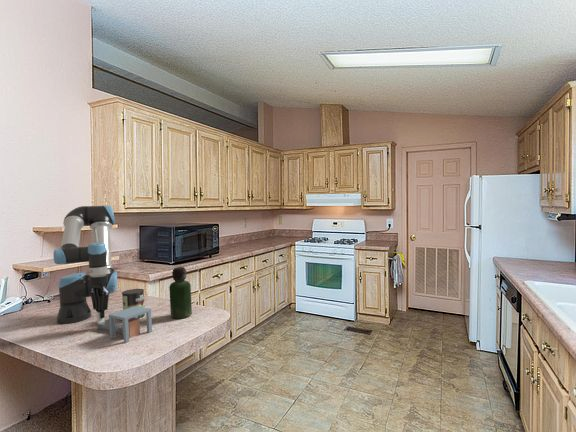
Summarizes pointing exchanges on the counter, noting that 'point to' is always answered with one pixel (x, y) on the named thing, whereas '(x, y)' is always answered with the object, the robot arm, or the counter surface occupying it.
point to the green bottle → (180, 295)
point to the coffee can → (133, 299)
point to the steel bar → (105, 327)
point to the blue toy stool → (125, 316)
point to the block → (133, 327)
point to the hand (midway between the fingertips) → (101, 324)
